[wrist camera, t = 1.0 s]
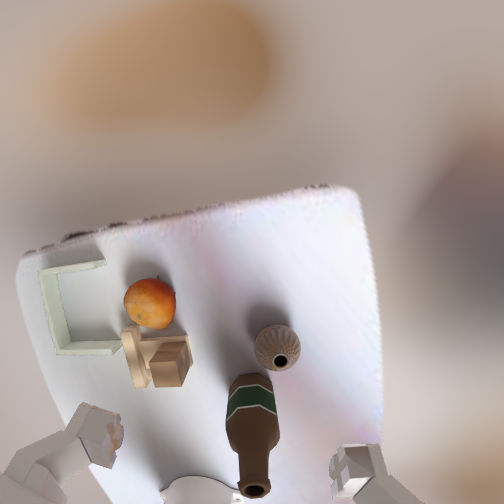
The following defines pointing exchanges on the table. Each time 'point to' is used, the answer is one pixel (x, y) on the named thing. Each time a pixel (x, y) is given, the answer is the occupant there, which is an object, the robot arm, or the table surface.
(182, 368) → the angled wooden block structure
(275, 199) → the table surface
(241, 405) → the beer bottle
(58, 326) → the tray
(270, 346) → the vase
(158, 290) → the fruit
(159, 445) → the table surface
